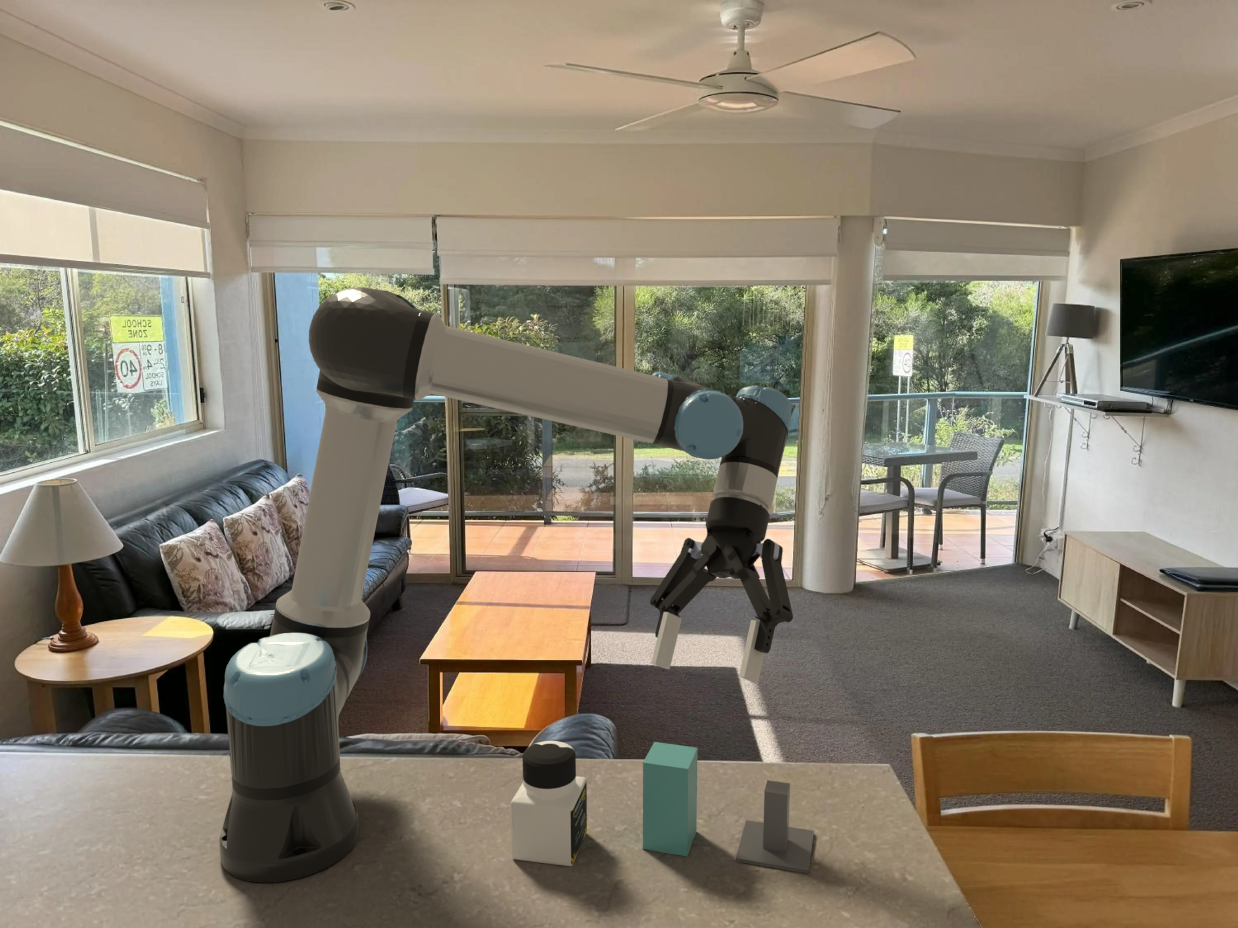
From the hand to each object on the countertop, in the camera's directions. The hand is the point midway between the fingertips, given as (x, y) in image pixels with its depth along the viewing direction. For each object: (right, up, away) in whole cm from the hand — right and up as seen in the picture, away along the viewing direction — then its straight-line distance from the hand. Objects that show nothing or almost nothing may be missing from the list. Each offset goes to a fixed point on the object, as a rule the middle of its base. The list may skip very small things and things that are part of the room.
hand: (702, 673), depth 104 cm
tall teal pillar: (-4, -19, -1) cm, 20 cm away
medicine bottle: (-18, -20, -2) cm, 27 cm away
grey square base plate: (+8, -19, -2) cm, 21 cm away
